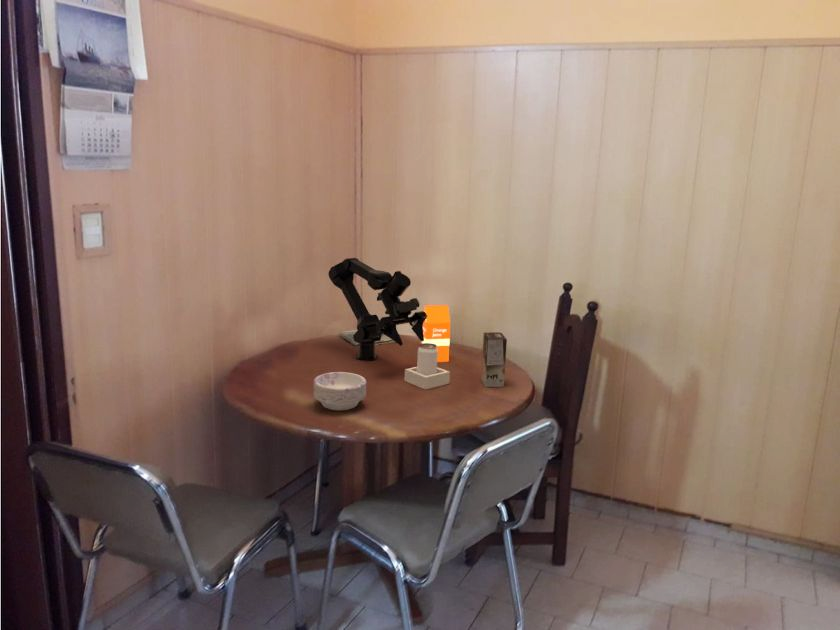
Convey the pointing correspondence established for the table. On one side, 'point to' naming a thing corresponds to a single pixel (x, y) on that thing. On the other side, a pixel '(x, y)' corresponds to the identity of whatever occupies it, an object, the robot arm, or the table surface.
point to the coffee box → (493, 359)
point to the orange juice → (438, 330)
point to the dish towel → (349, 337)
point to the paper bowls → (339, 390)
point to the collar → (427, 378)
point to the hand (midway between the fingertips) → (412, 342)
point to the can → (427, 359)
